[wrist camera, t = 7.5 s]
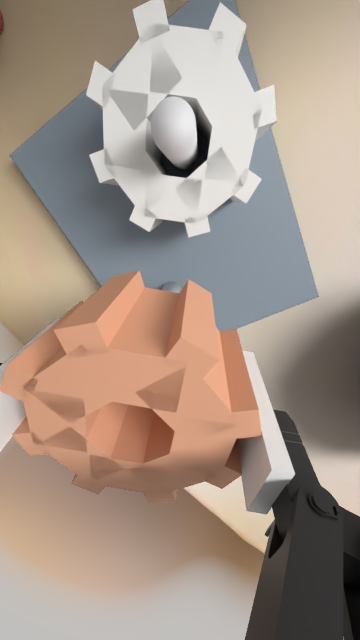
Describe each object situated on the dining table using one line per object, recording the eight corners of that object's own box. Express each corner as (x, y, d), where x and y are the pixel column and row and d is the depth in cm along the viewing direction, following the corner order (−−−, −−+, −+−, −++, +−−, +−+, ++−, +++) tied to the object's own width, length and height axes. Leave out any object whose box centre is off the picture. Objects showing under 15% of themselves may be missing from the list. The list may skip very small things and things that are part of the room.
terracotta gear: (68, 257, 12) (-28, 300, 7) (259, 291, 12) (301, 358, 7) (77, 396, 16) (25, 481, 11) (214, 419, 16) (221, 515, 11)
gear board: (223, -11, 14) (256, -302, 6) (311, 290, 23) (376, 345, 14) (22, 158, 19) (-113, 129, 11) (155, 353, 28) (137, 420, 19)
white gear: (199, 15, 14) (198, -82, 9) (276, 167, 17) (306, 156, 12) (92, 142, 17) (50, 121, 12) (174, 249, 20) (165, 266, 15)
